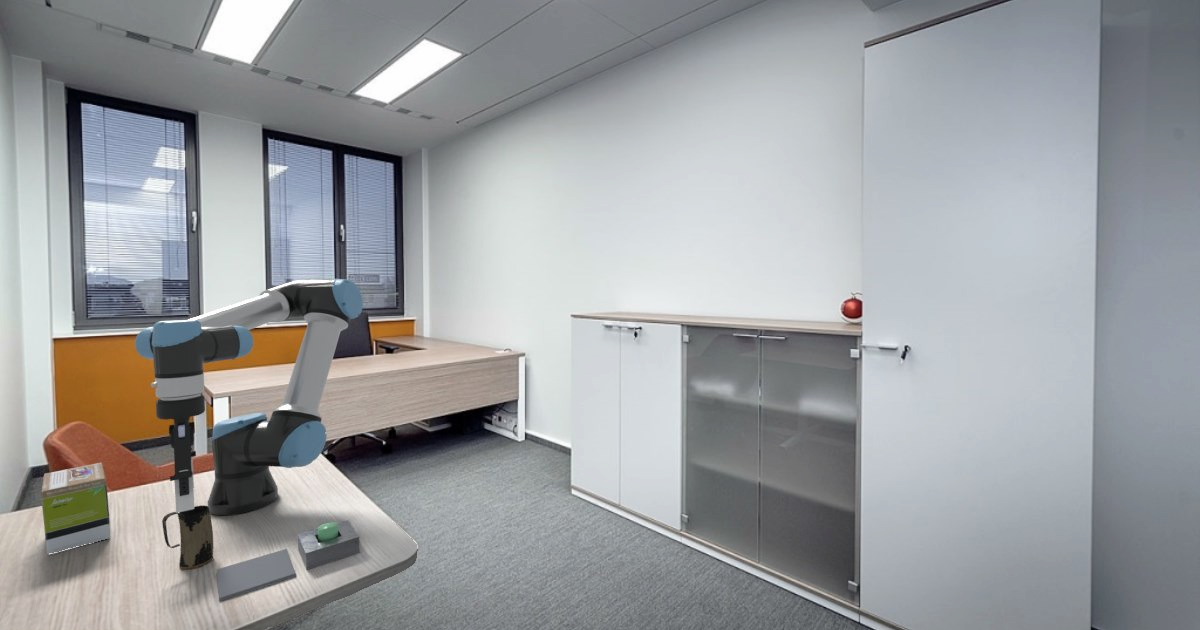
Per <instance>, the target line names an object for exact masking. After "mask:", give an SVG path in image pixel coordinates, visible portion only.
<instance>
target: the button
mask: <svg viewBox="0 0 1200 630" xmlns="http://www.w3.org/2000/svg"><path fill="white" fill-rule="evenodd" d="M337 523H338V522H333V521H332V522H326V523H322V524H321V525H319V526H318V527H317V529H318V543H321V542H324V541H327V540H331V539H334V538H337V537H338V524H337Z"/></svg>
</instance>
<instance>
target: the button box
mask: <svg viewBox="0 0 1200 630" xmlns="http://www.w3.org/2000/svg"><path fill="white" fill-rule="evenodd" d="M336 523H337V524H338V537H337V538H334V539H331V540H327V541H324V542H321V543H318V528H315V529H312V530H309V531H304V532H302V533H297V550H298V552H299V553H298V554H299V555H300V557H301V560H302V563H303V565H304V567H305V569H306V571H308V570H312V569H314V568H317V567H321V566H323V565H326V564H329V563H332V562H336V561H339V560H341V559H345V558H348V557H351V556H353V555H357V554H360V553H361V546H360V545H361V544H360V543H361V542H360V535H359V534H358V532H357V531H356V529H355V528H354V527H353V525H352V524H351V522H350V521H349V520H344V521H340V522H336Z"/></svg>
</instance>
